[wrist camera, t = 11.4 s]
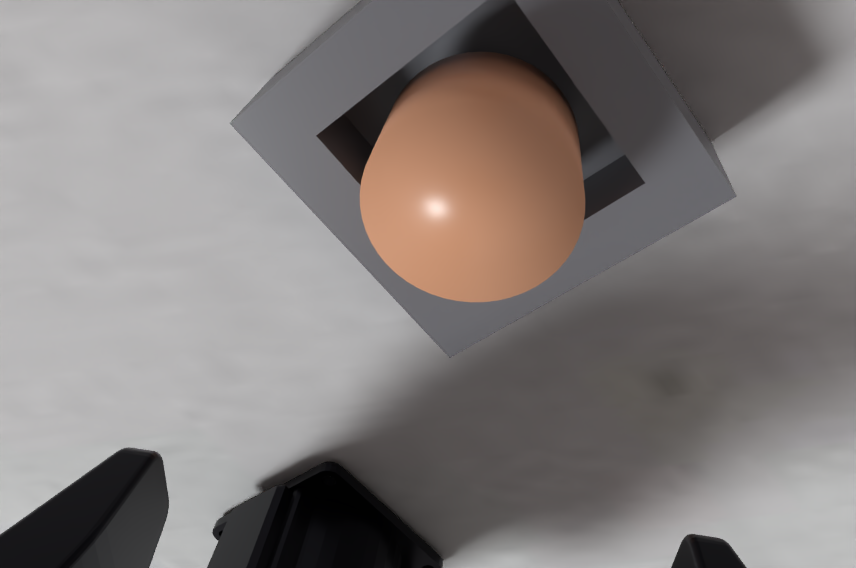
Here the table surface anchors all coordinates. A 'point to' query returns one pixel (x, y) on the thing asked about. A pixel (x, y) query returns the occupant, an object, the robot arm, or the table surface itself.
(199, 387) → the table surface
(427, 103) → the button
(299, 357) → the table surface
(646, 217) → the button housing
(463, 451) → the table surface
